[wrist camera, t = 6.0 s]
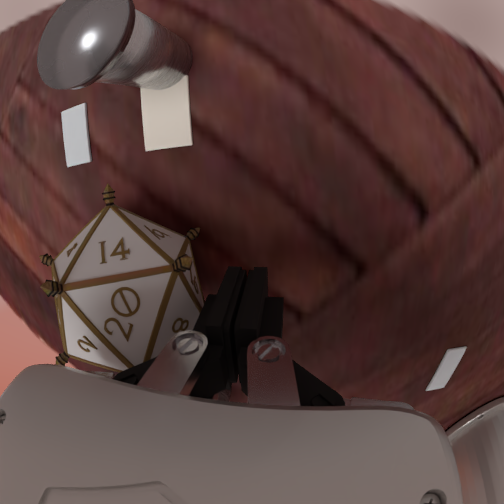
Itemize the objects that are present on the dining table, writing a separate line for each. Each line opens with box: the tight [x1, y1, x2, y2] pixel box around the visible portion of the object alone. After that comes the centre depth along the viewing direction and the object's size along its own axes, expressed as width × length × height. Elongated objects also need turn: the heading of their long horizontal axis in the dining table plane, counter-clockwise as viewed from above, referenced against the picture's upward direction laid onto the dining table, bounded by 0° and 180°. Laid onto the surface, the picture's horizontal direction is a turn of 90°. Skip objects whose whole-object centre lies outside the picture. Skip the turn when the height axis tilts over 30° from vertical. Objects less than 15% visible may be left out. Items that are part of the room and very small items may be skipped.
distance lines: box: [61, 75, 467, 391], centre depth 15 cm, size 27×22×1 cm
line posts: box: [37, 0, 231, 401], centre depth 12 cm, size 4×26×7 cm, turn 3°
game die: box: [39, 184, 205, 373], centre depth 12 cm, size 9×8×10 cm
